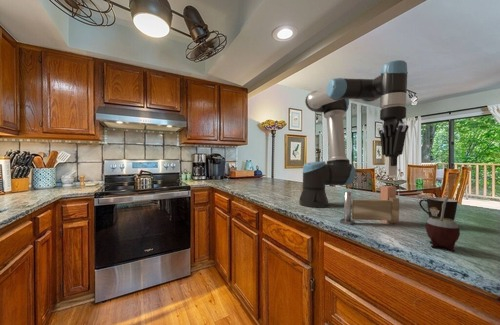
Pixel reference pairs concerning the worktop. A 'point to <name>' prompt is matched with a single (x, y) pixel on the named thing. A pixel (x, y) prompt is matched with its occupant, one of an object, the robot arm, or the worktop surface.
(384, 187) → the post
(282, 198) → the worktop surface
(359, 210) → the gate
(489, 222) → the worktop surface
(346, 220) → the hinge post
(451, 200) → the coffee mug
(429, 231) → the mate gourd
